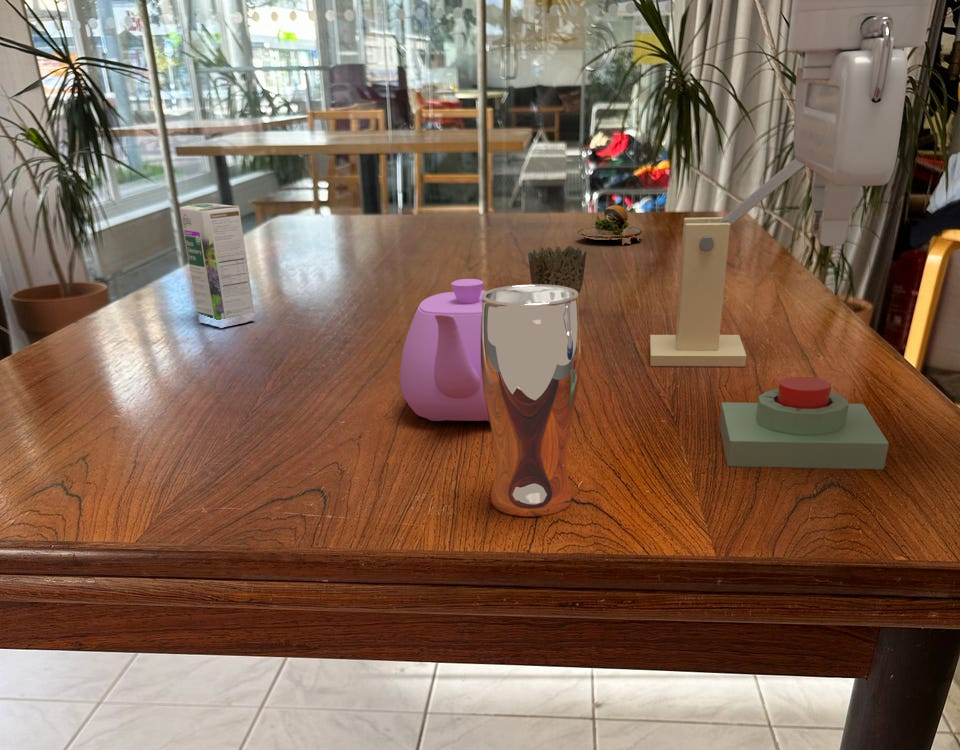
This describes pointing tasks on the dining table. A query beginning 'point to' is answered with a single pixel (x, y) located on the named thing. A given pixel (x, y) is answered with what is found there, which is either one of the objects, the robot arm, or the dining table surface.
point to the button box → (801, 435)
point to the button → (804, 392)
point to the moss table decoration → (613, 223)
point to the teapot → (446, 356)
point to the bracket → (700, 303)
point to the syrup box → (217, 260)
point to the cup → (558, 267)
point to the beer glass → (530, 393)
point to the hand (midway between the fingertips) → (826, 240)
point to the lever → (761, 192)
